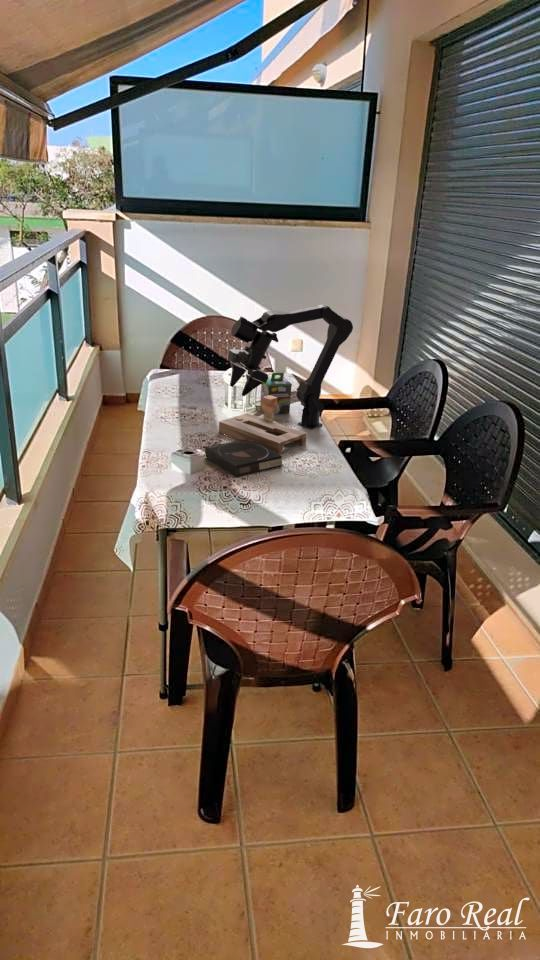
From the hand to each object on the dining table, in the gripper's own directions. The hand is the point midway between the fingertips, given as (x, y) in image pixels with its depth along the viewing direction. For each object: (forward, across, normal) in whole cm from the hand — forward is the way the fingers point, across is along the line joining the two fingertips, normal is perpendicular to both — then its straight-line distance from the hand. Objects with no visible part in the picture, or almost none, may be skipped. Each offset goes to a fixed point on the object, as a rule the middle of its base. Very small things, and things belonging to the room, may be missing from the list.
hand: (236, 390), depth 224 cm
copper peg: (+7, +1, +17) cm, 18 cm away
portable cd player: (+16, +29, -4) cm, 33 cm away
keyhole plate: (+10, +12, +9) cm, 18 cm away
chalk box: (+4, -14, +27) cm, 31 cm away
